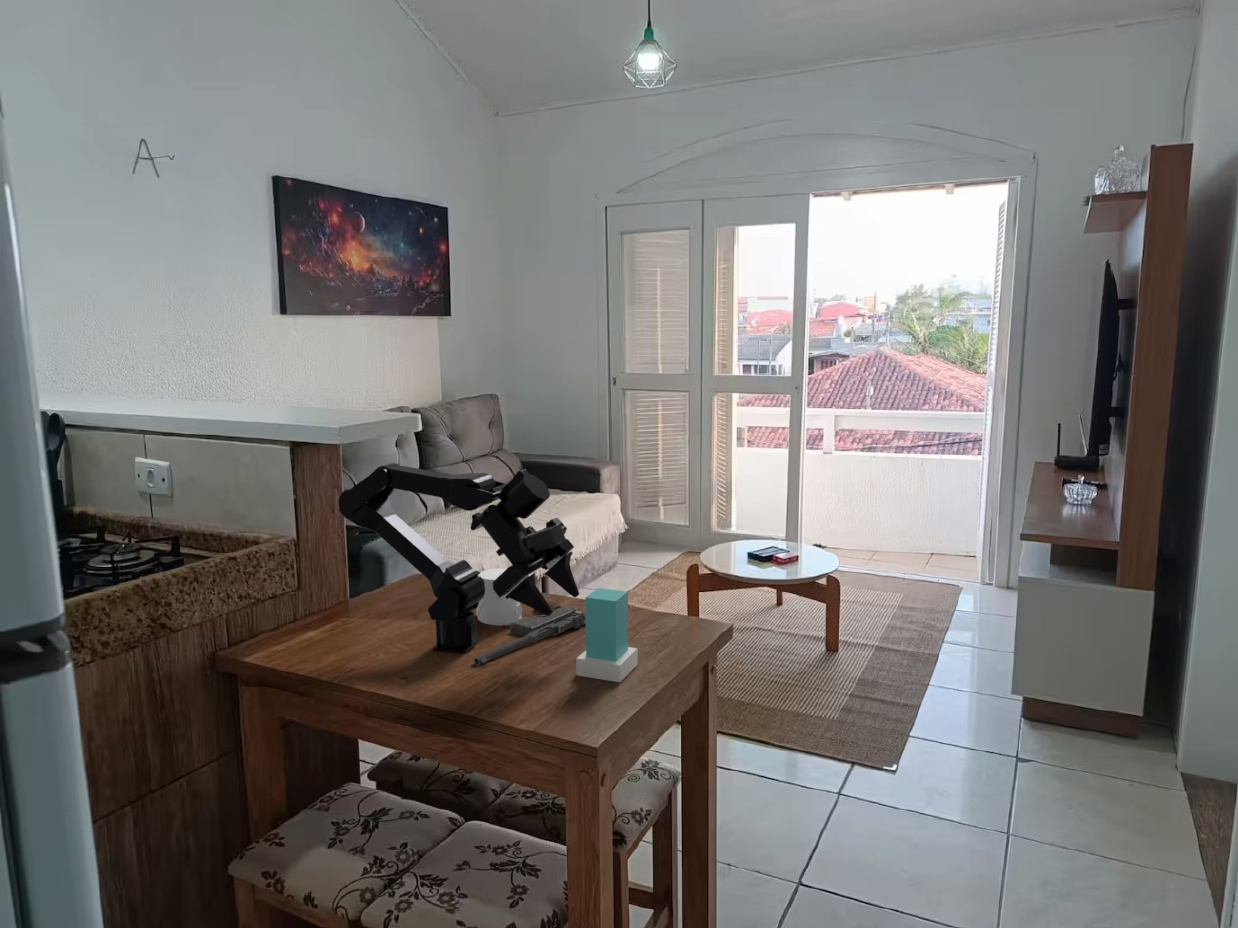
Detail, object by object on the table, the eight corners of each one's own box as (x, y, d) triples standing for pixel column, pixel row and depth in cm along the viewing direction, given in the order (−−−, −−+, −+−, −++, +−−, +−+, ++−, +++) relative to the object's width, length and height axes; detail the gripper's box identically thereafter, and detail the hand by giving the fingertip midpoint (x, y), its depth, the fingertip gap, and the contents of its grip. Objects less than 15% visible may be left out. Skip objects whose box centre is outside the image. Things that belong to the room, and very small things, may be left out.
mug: (529, 571, 175) (505, 582, 168) (530, 616, 177) (507, 628, 170) (482, 564, 181) (457, 573, 174) (483, 607, 183) (458, 618, 176)
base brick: (576, 675, 148) (576, 658, 147) (595, 658, 155) (595, 642, 155) (620, 682, 145) (620, 665, 144) (637, 664, 152) (637, 648, 152)
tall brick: (586, 656, 148) (585, 597, 146) (599, 645, 153) (598, 587, 151) (616, 661, 146) (615, 601, 144) (628, 649, 151) (628, 591, 149)
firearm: (545, 609, 184) (599, 622, 174) (430, 656, 161) (484, 673, 152) (544, 594, 183) (598, 606, 174) (428, 639, 161) (482, 655, 151)
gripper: (506, 521, 141) (566, 598, 139) (564, 494, 157) (618, 562, 155) (467, 559, 146) (524, 634, 144) (527, 529, 163) (579, 596, 160)
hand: (564, 604), depth 151 cm, fingers open, 9 cm apart
